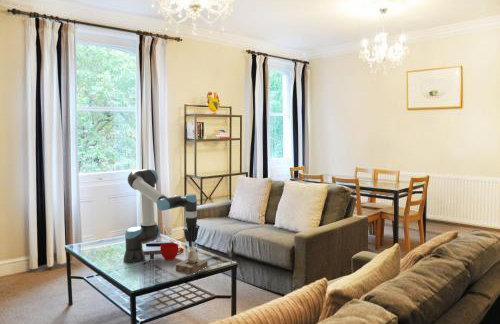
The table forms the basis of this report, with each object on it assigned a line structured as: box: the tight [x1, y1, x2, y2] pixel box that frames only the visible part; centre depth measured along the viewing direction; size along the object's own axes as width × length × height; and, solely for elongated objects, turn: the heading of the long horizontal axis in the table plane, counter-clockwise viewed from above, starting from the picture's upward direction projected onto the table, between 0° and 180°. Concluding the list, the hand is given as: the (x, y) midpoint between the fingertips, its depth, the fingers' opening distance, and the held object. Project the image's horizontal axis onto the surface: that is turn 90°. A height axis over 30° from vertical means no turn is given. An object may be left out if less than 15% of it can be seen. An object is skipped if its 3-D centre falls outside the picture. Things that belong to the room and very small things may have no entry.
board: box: [175, 258, 209, 274], centre depth 288 cm, size 15×16×4 cm
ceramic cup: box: [159, 242, 184, 261], centre depth 307 cm, size 13×17×10 cm
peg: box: [187, 250, 197, 265], centre depth 288 cm, size 5×5×12 cm
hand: (191, 251), depth 287 cm, fingers closed
